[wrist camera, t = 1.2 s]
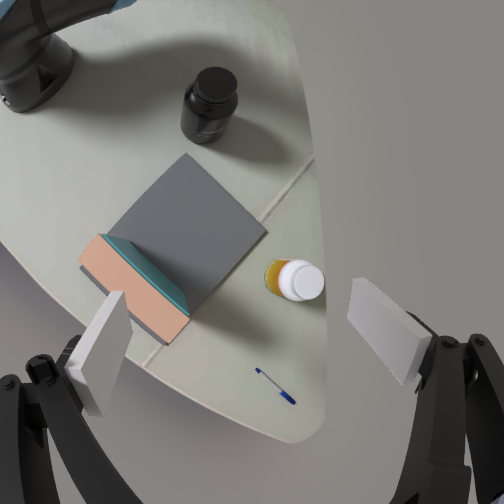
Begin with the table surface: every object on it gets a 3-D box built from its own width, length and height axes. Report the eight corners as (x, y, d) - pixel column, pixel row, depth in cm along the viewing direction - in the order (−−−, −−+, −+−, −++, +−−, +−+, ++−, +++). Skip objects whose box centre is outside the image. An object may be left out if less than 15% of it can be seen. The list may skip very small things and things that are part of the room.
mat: (163, 344, 37) (163, 345, 36) (80, 267, 33) (79, 268, 33) (264, 230, 41) (266, 230, 40) (185, 154, 37) (185, 152, 37)
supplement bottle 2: (265, 297, 41) (292, 310, 31) (259, 261, 40) (285, 264, 31) (298, 290, 42) (331, 299, 33) (293, 255, 42) (326, 256, 33)
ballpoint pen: (296, 400, 43) (298, 403, 42) (292, 404, 42) (294, 406, 41) (256, 366, 41) (258, 369, 40) (252, 370, 40) (254, 373, 40)
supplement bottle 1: (206, 153, 38) (220, 117, 27) (171, 127, 37) (172, 84, 25) (234, 122, 39) (257, 81, 28) (200, 98, 38) (212, 51, 26)
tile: (170, 311, 36) (168, 343, 23) (111, 256, 34) (77, 259, 21) (185, 293, 37) (192, 317, 23) (126, 238, 35) (100, 230, 21)
